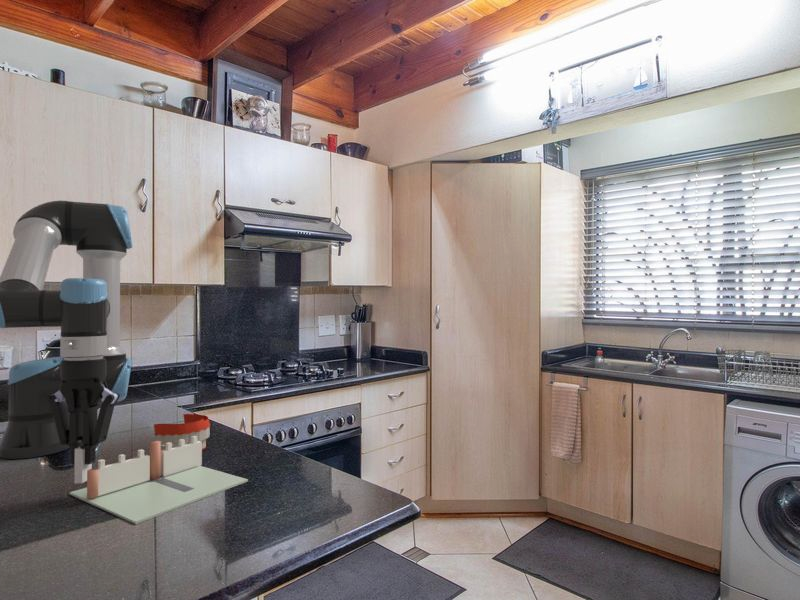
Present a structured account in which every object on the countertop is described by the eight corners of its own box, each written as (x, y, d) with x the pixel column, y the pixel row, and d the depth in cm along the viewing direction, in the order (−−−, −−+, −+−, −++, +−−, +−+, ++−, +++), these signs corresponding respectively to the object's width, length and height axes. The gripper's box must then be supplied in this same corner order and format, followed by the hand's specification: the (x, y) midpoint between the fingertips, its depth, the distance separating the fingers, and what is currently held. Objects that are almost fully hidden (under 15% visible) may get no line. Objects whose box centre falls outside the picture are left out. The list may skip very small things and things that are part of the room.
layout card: (69, 494, 91) (69, 491, 91) (180, 461, 111) (180, 459, 111) (135, 524, 78) (135, 521, 78) (247, 481, 98) (248, 479, 98)
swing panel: (145, 478, 98) (145, 447, 98) (150, 480, 97) (150, 449, 97) (85, 497, 88) (85, 462, 88) (89, 499, 87) (90, 464, 87)
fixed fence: (147, 481, 98) (148, 442, 98) (197, 465, 108) (197, 430, 108) (153, 483, 97) (153, 444, 97) (202, 467, 107) (202, 431, 107)
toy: (190, 460, 112) (190, 426, 112) (151, 458, 114) (152, 425, 114) (220, 445, 124) (220, 415, 124) (185, 443, 126) (185, 413, 126)
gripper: (35, 360, 87) (34, 488, 87) (104, 360, 87) (104, 488, 87) (64, 356, 95) (63, 474, 95) (128, 356, 95) (128, 473, 94)
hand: (83, 480), depth 91 cm, fingers closed
